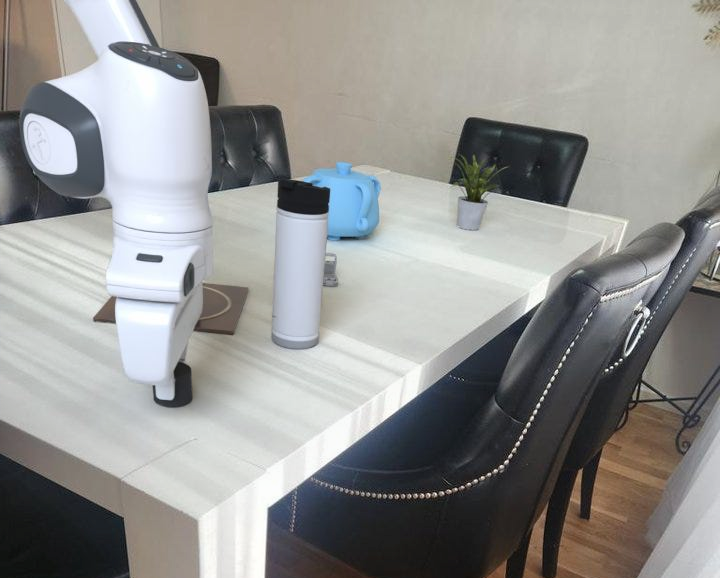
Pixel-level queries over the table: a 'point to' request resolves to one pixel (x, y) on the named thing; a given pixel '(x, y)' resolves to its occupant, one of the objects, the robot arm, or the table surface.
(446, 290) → the table surface
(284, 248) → the travel mug
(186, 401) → the eye puck
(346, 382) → the table surface
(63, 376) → the table surface
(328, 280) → the strap clip
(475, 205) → the house plant
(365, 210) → the decorative pot
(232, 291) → the board
